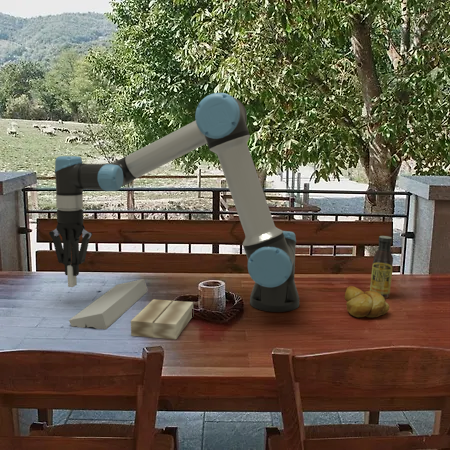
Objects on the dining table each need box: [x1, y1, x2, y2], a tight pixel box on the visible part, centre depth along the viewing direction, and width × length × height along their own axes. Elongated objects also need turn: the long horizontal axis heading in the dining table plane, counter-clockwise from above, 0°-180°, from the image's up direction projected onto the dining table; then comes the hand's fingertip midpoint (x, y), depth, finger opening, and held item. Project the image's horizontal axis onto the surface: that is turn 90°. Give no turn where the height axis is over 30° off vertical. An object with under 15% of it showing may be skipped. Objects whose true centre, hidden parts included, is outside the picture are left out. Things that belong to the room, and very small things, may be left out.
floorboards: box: [130, 299, 194, 340], centre depth 139 cm, size 12×18×4 cm, turn 169°
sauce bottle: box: [369, 235, 394, 300], centre depth 164 cm, size 7×6×20 cm
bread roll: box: [344, 285, 390, 318], centre depth 149 cm, size 13×10×8 cm
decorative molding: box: [68, 278, 148, 330], centre depth 153 cm, size 34×5×10 cm
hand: (72, 285), depth 155 cm, fingers closed
